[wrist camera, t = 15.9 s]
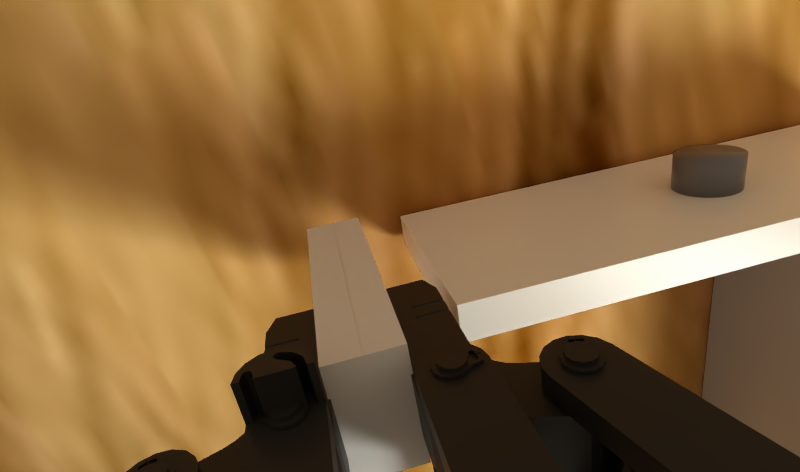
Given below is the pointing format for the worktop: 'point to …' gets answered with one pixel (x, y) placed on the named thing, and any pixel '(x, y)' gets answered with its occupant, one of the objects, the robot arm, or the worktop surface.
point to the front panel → (611, 233)
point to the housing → (757, 349)
